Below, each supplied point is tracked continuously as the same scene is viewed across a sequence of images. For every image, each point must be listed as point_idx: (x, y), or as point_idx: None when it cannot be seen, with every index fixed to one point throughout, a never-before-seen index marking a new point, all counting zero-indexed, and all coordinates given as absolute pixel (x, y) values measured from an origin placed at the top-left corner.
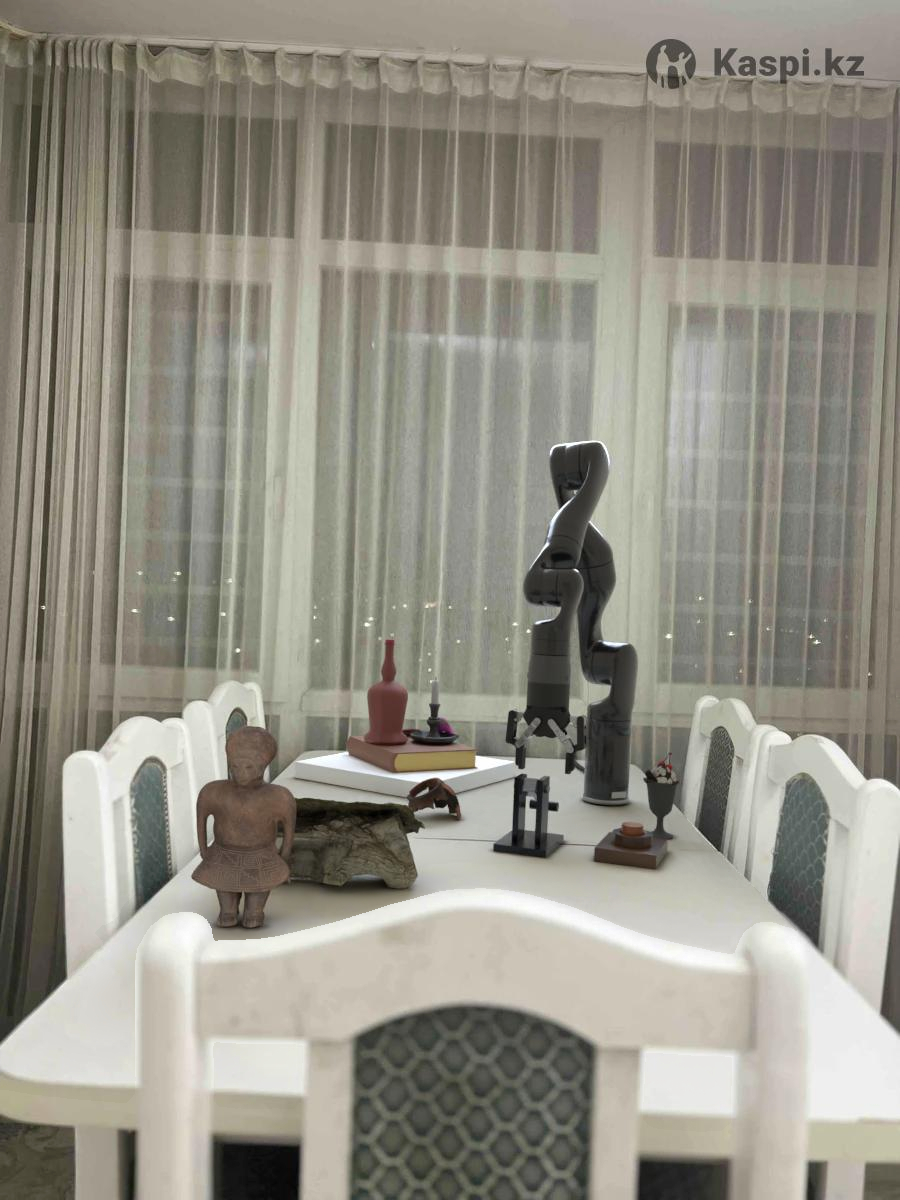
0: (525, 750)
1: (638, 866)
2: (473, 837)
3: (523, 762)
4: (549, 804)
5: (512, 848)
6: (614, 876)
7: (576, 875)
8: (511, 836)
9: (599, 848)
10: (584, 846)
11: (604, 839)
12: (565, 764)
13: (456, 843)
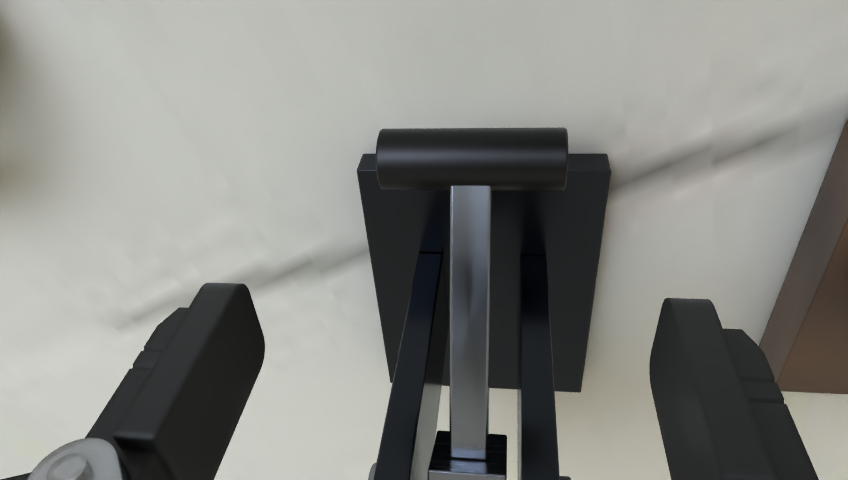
0: (175, 421)
1: None
2: (247, 249)
3: (238, 363)
4: (514, 189)
5: None
6: (819, 452)
7: None
8: (404, 288)
9: (793, 390)
10: (716, 181)
11: (833, 277)
12: (666, 445)
13: None
